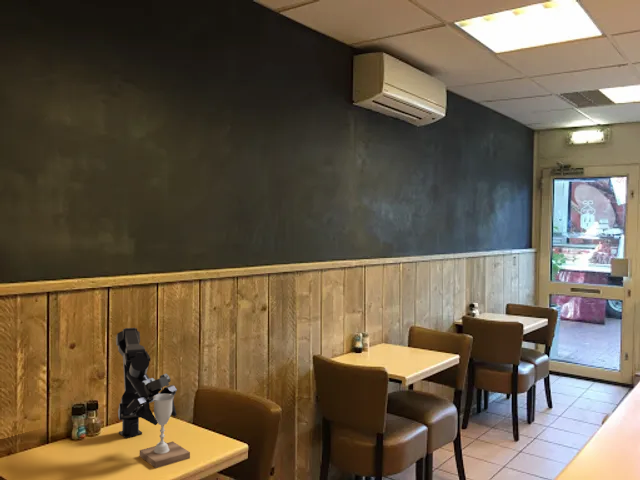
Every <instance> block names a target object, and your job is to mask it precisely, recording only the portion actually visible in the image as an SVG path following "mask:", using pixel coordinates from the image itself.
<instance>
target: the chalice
mask: <svg viewBox="0 0 640 480" xmlns="http://www.w3.org/2000/svg"><path fill="white" fill-rule="evenodd" d="M174 398H175V395H172V394H158V395H155V396H154V397H153V400H154V401H153V415H154V417H155V418H156V420H157V422H158V424H157V425H159V426H160V430H159V431H160V435H159V438H160V441H159V442H157V444H156V445H155V446H156V447H155V449H154V452H155V453H158V454H163V453H167V452H168V451H169V448H168V444H167V443H168V442H165V440H164V439H165V437H166V436H165V435H166V434H164V433H165V431H166V430H165V425H167V424H168V422H169V420H170V418H171V416H172V415H171V413H172V402H173V400H174Z"/></svg>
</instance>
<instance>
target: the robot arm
mask: <svg viewBox="0 0 640 480" xmlns="http://www.w3.org/2000/svg"><path fill="white" fill-rule="evenodd" d="M140 342H141V333H140V331H138V328H137V327H124V328H123V329H122V330H121V331H120V332H118V333H116V336H115V345H116V346H117V350H118V352H119V354H120V355H121V356H122V364H123V365H122V366H123V367H122V368H123V383H124V385H123V386H124V393H122V396H121V399H120V403H119V404H118V409H117V414H118V415H117V417H118V419H119V420H118V421H122V429H121V430H119V431H118V434H119V435H121V436H122V437H123V438H125V439H126V438H132V437H134V436H139V435H143V432H142V431H141V430H140V425H139V423H140V421H139V420H140V419H143V420H145V421H147V422H149V423H151V424H152V425H154V426H157V425H159V424H158V422H157V420H156V418H155V415H154V412H153V411H152V410H151V408H150V404H151V403H154V400H153V397H154V396H155V395H158V394H172V395H174V396H175V395H176V392H177V391H178V389H177V388H176V386H175V385H173V384H170V383H171V378H170V376H169V375H168V374H167V373H164V374H162V375H160V376H159V378H157V379H154V378H153V377H151V378H150V377H149V375H148V374H147V373H148V369H149V365H150V362H151V357H150V355H149V353H148V351H147V350H146V349H145V346H144V345H141V344H140ZM171 416H173V417H176V416H177V410H176V406H175V402H174V399H173V402H172V413H171Z"/></svg>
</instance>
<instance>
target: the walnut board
mask: <svg viewBox="0 0 640 480" xmlns="http://www.w3.org/2000/svg"><path fill="white" fill-rule="evenodd" d="M166 443H167V444H168V448H169V451H168V452H167V453H163V454H158V453H155V452H154V449H155V447H156V445H155V446H151V447H146V448H143V449H140V450H139V457H140V458H141V459H142V460H144V461H145V462H147V463H148V464H149V465H151V467H154V468H155V469H158V468H162V467H164V466H165V467H166V466H168V465H172V464H175V463H178V462H181V461H185V460H188V459H191V452H190V451H189V450H187V449H186V448H184V447H182V446H181V445H179V444H177V443H176V442H175V441H169V442H166Z"/></svg>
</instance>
